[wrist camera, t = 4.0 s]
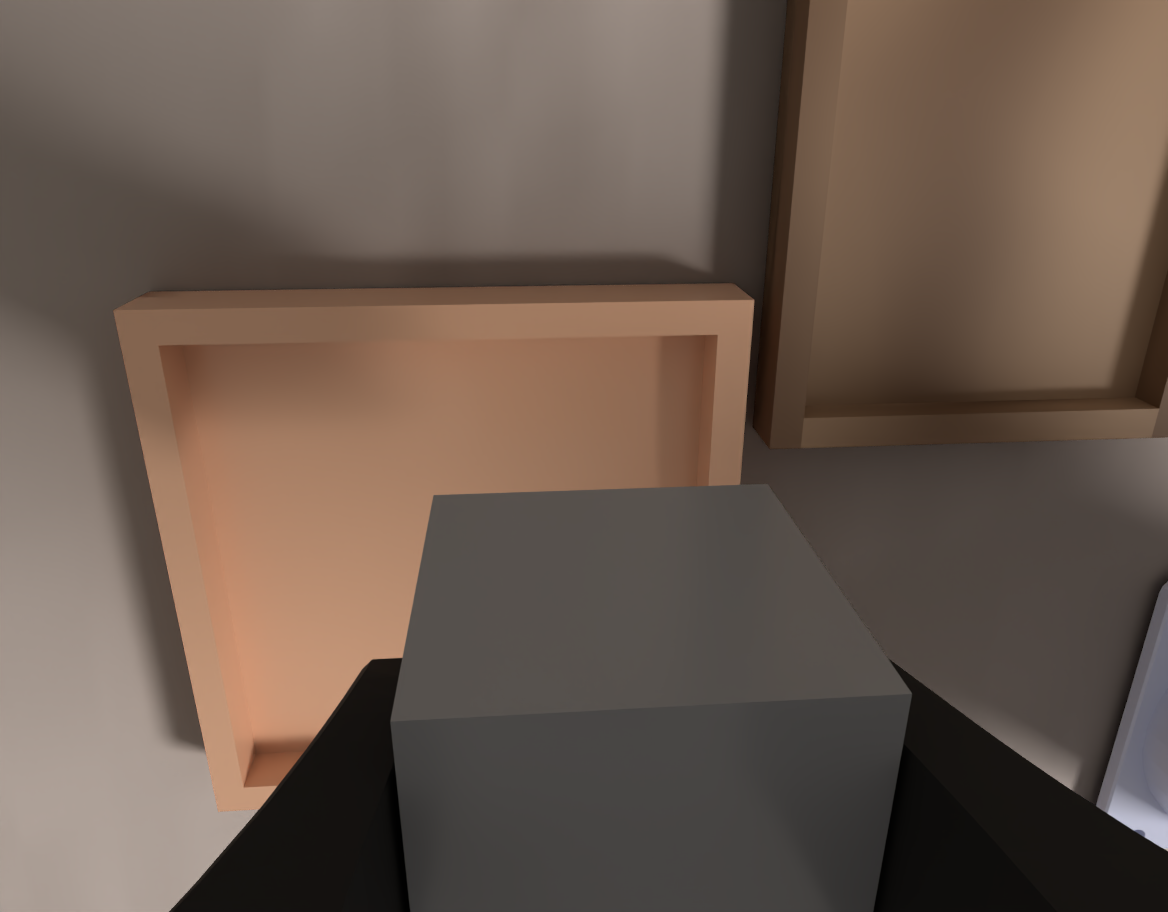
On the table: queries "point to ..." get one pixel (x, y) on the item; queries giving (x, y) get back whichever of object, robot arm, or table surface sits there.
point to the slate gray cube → (639, 710)
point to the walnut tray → (967, 224)
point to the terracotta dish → (390, 460)
